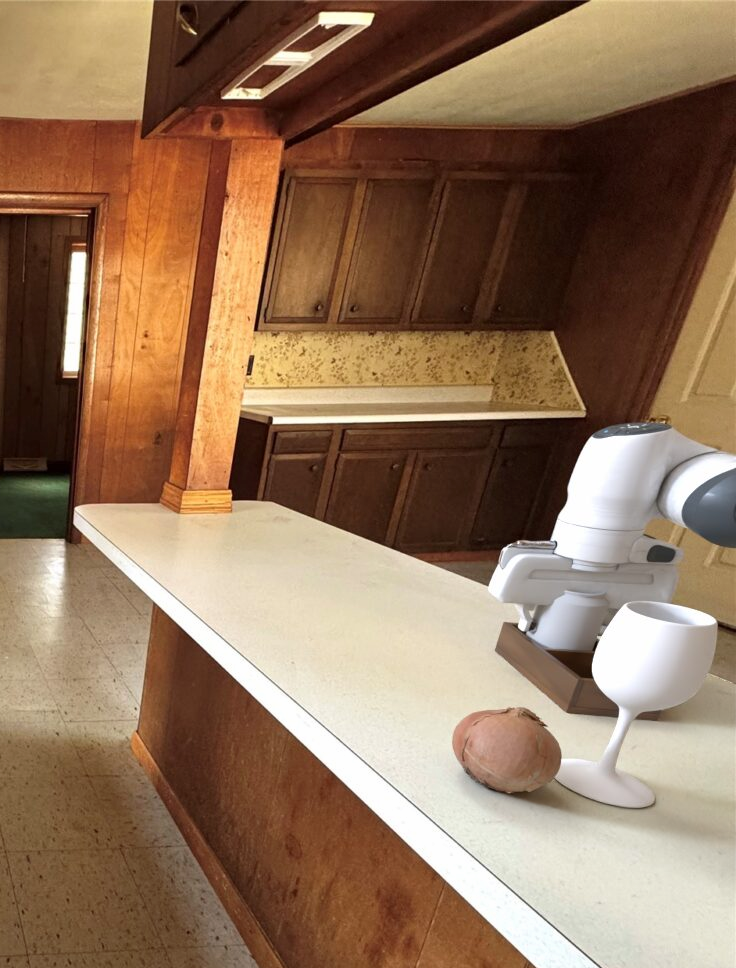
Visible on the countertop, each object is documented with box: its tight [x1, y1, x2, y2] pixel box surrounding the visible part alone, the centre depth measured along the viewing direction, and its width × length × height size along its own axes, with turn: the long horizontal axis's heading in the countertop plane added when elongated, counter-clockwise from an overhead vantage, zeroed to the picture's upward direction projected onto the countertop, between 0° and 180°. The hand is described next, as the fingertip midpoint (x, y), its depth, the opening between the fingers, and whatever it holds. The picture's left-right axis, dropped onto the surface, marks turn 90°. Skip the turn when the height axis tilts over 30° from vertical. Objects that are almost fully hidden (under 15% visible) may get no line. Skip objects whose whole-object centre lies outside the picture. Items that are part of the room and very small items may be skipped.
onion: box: [451, 706, 563, 794], centre depth 74 cm, size 10×9×10 cm
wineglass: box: [553, 601, 719, 809], centre depth 71 cm, size 9×9×21 cm
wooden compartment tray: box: [494, 621, 663, 722], centre depth 94 cm, size 10×19×5 cm, turn 165°
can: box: [526, 590, 610, 651], centre depth 97 cm, size 8×8×12 cm
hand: (561, 632), depth 97 cm, fingers closed on can, 7 cm apart
